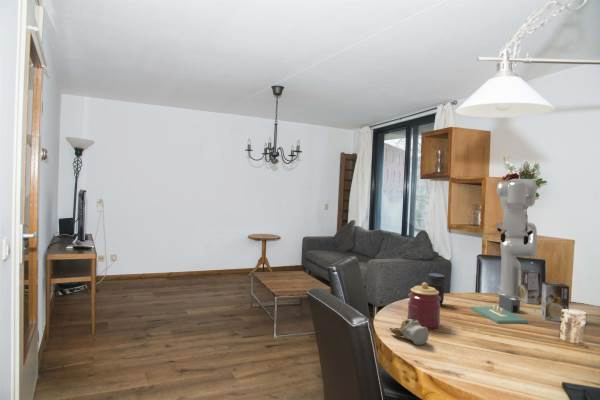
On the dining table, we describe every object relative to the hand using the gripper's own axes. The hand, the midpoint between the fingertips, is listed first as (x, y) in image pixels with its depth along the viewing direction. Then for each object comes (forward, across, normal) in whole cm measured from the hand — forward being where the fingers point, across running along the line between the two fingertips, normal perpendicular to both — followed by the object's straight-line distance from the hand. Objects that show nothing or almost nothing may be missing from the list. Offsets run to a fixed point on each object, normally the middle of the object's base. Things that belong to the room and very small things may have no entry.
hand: (514, 243), depth 183 cm
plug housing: (+33, +1, -2) cm, 33 cm away
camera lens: (+33, +28, +21) cm, 48 cm away
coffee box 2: (+33, -17, -3) cm, 37 cm away
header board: (+33, +1, +14) cm, 35 cm away
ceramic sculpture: (+34, +12, +72) cm, 81 cm away
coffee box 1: (+32, 0, -27) cm, 42 cm away
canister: (+34, +17, +53) cm, 65 cm away
